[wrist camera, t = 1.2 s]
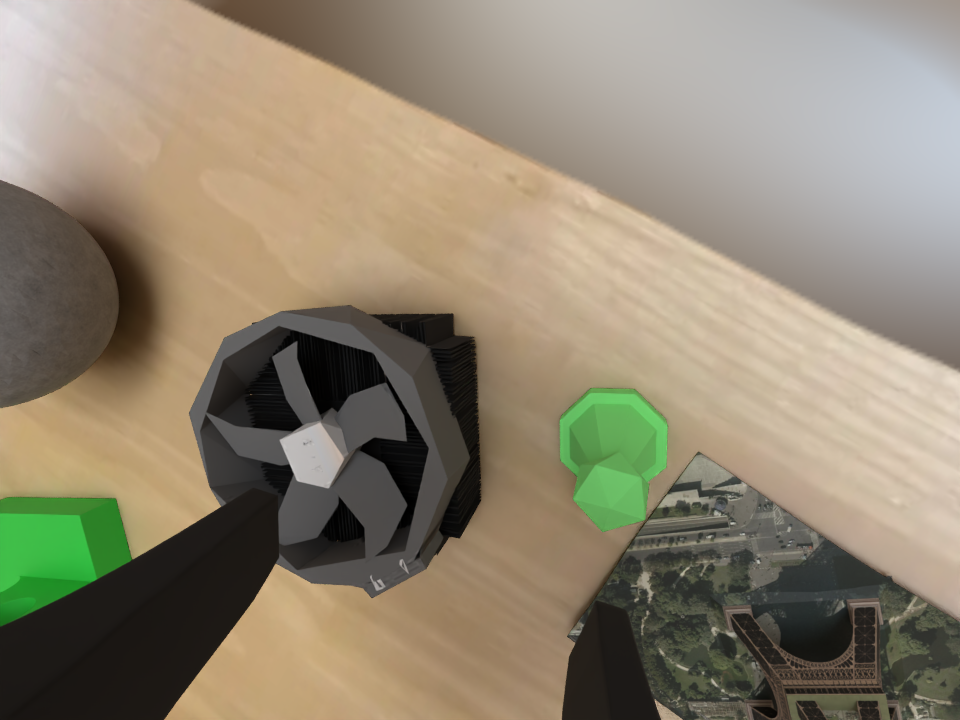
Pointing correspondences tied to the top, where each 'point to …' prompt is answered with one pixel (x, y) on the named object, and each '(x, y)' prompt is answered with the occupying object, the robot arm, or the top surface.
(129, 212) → the top surface
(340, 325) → the cpu cooler
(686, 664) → the eiffel tower figurine
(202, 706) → the top surface
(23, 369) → the decorative ball
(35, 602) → the mechanical part
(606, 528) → the game piece
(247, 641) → the top surface
